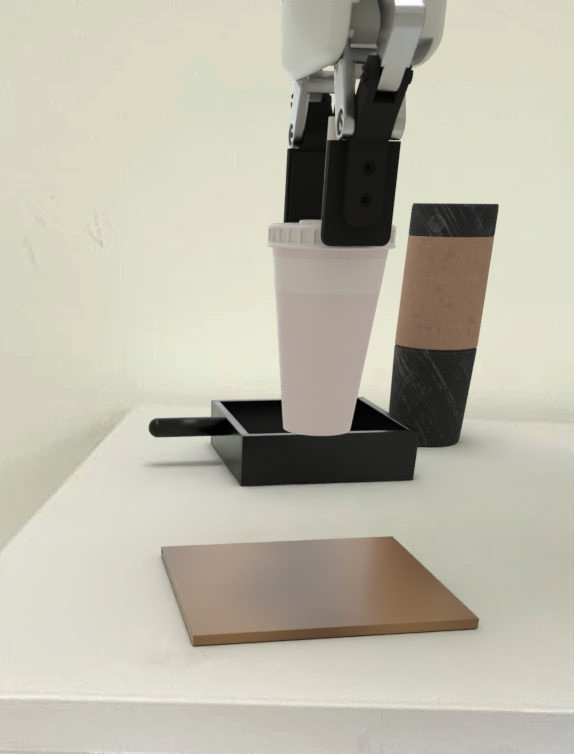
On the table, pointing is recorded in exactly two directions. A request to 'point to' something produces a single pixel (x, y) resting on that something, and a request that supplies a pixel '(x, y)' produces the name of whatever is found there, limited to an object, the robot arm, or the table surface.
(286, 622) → the brown mat
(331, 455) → the pan
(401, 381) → the travel mug
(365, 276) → the smoothie
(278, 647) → the table surface
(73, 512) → the table surface
